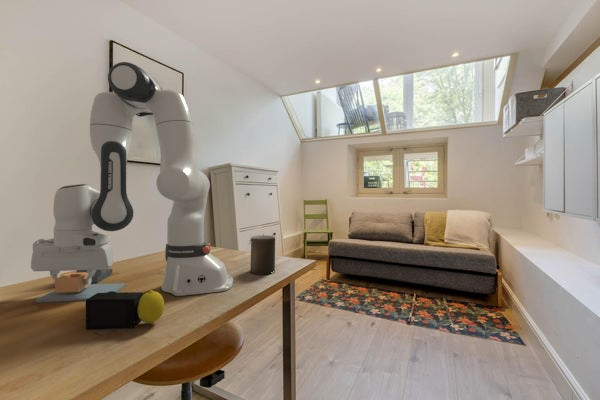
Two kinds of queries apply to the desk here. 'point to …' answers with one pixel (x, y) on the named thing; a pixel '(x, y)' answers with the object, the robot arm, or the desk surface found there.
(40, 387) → the desk surface
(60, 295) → the mat
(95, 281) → the stand
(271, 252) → the pillar candle
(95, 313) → the black rectangular box
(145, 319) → the lemon
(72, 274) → the collar
